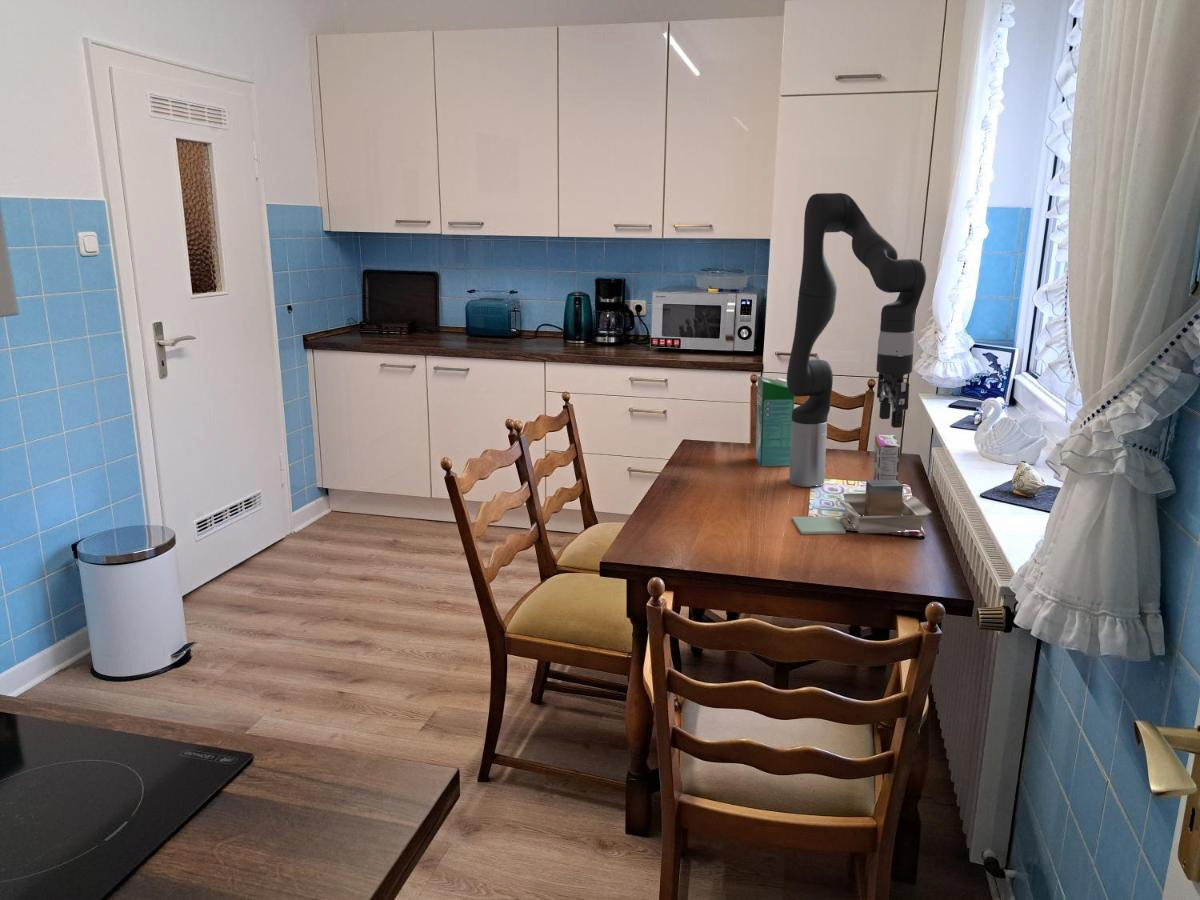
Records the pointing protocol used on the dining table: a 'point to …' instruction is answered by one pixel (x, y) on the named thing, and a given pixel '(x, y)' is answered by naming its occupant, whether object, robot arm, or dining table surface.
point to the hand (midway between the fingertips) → (890, 422)
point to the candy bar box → (886, 458)
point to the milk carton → (773, 422)
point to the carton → (884, 524)
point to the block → (883, 498)
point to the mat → (818, 525)
